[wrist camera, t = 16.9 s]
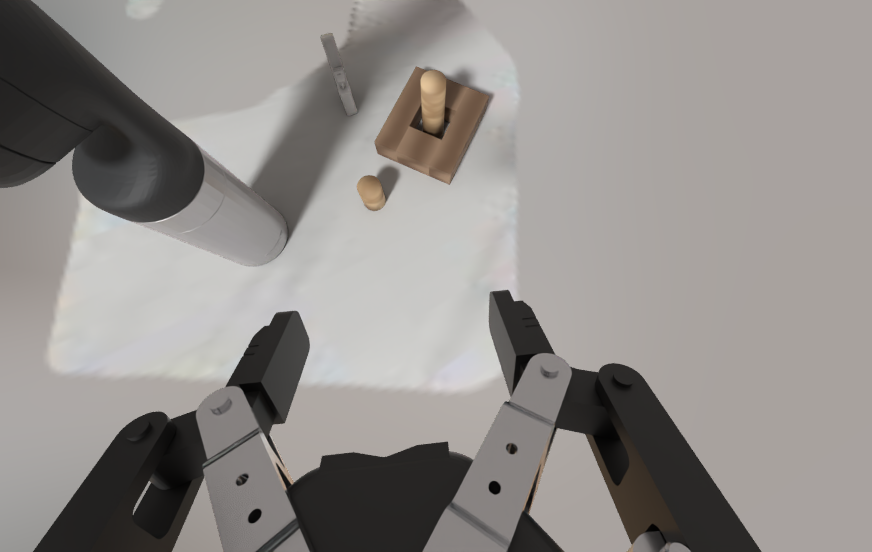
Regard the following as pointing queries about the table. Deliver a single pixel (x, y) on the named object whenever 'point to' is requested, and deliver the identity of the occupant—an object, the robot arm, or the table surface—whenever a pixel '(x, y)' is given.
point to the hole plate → (422, 148)
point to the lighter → (339, 73)
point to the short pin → (371, 192)
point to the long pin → (433, 102)
